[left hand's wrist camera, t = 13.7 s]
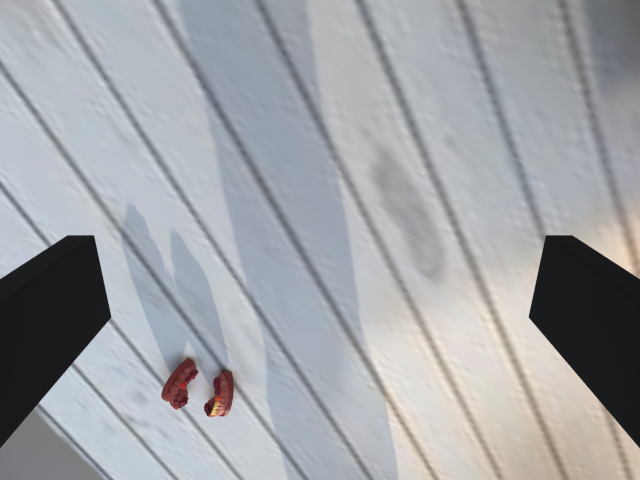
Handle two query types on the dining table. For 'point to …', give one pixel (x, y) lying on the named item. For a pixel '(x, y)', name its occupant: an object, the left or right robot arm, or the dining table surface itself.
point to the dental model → (178, 392)
